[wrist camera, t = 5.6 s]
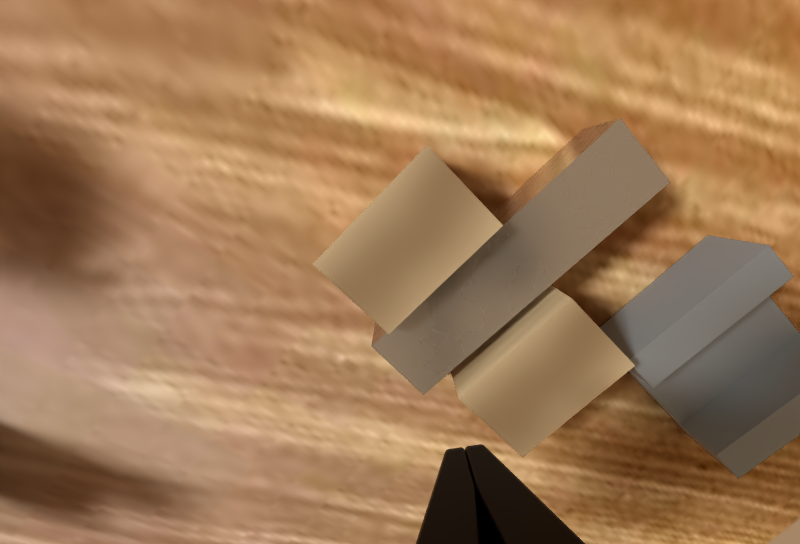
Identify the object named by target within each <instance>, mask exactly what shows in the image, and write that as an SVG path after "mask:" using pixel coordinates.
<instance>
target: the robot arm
mask: <svg viewBox="0 0 800 544" xmlns="http://www.w3.org/2000/svg"><path fill="white" fill-rule="evenodd" d="M416 544H585V543H584V542H583V541H582V540H581V539H580V538H579V537H578V536H577V535H576V534H575V533H574V532H573V531H572V530H571V529H570V528H568V527H567V526H566V525H565V524H564V523H563V522H562V521H561V520H560V519H559V518H558V517H557V516H556V515H555V514H554V513H553V512H552V511H551V510H550V509H549V508H548V507H547V506H546V505H545V504H544V503H543V502H542V501H541V500H540V499H539V498H538V497H537V496H536V495H535V494H533V493H532V492H531V491H530V490H529V489H528V488H527V487H526V486H525V485H524V484H523V483H522V482H521V481H520V480H519V479H518V478H517V477H516V476H515V475H514V474H513V473H512V472H511V471H510V470H509V469H508V468H507V467H506V466H505V465H504V464H503V463H502V462H501V461H499V460H498V459H497V458H496V457H495V456H494V455H493V454H492V453H491V452H490V451H489V450H488V449H487V448H486V447H485V446H484V445H482V444H480V445H473V446H467V447H466V448H465V450H464V449H463V448H461V447H460V448H454V449H448V450H446V452H445V454H444V457H443V460H442V463H441V466H440V470H439V473H438V476H437V479H436V482H435V485H434V488H433V492H432V495H431V498H430V501H429V504H428V507H427V510H426V513H425V517H424V520H423V523H422V526H421V529H420V532H419V535H418V539H417V542H416Z"/></svg>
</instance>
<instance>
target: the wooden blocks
mask: <svg viewBox="0 0 800 544" xmlns="http://www.w3.org/2000/svg"><path fill="white" fill-rule="evenodd" d="M502 226H503V225H502V224H501V223H500V222H499V221H498V219H497V218H496V217H495V216H494V215H493V214H492V213H491V212H490V211H489V210H488V209H487V208H486V207H485V206H484V205H483V204H482V203H481V201H480V200H479V199H478V198H477V197H476V196H475V195H474V194H473V193H472V192H471V191H470V190H469V189H468V188H467V187H466V186H465V184H464V183H463V182H462V181H461V180H460V179H459V178H458V177H457V176H456V175H455V174H454V173H453V172H452V171H451V170H450V169H449V167H448V166H447V165H446V164H445V163H444V162H443V161H442V160H441V159H440V158H439V157H438V156H437V155H436V154H435V153H434V152H433V151H432V149H431V148H430V147H429V146H428V145H427V146H426V147H425V148H424V149H423V150H422V151H421V152H420V153H419V154H418V155H417V156H416V157H415V158H414V159H413V160H412V161H411V162H410V163H409V164H408V165H407V166H406V167H405V168H404V170H403V171H402V172H401V173H400V174H399V175H398V176H397V177H396V178H395V179H394V180H393V181H392V182H391V183H390V184H389V185H388V186H387V187H386V188H385V189H384V190H383V191H382V192H381V193H380V195H379V196H378V197H377V198H376V199H375V200H374V201H373V202H372V203H371V204H370V205H369V206H368V207H367V208H366V209H365V210H364V211H363V212H362V213H361V214H360V215H359V216H358V217H357V218H356V220H355V221H354V222H353V223H352V224H351V225H350V226H349V227H348V228H347V229H346V230H345V231H344V232H343V233H342V234H341V235H340V236H339V237H338V238H337V239H336V240H335V241H334V242H333V244H332V245H331V246H330V247H329V248H328V249H327V250H326V251H325V252H324V253H323V254H322V255H321V256H320V257H319V258H318V259H317V260H316V261H315V262H314V263H313V265H314V266H315V267H316V268H317V269H318V270H320V271H321V272H322V273H323V274H324V275H325V276H326V277H327V278H328V279H329V280H330V281H331V282H333V283H334V284H335V285H336V286H337V287H338V288H339V289H340V290H341V291H342V292H343V293H345V294H346V295H347V296H348V297H349V298H350V299H351V300H352V301H353V302H354V303H355V304H356V305H358V306H359V307H360V308H361V309H362V310H363V311H364V312H365V313H366V314H367V315H368V316H370V317H371V318H372V319H373V320H374V321H375V322H376V323H377V324H378V325H379V326H380V327H382V328H383V329H384V330H385V331H386V332H387V333H388V334H390V333H391V332H392V331H393V330H394V329H395V328H396V327H397V326H398V325H399V324H400V323H401V322H402V321H403V320H404V319H406V318H407V317H408V316H409V315H410V314H411V313H412V312H413V311H414V310H415V309H416V308H417V307H418V306H419V305H420V304H421V303H422V302H423V301H424V300H425V299H427V298H428V297H429V296H430V295H431V294H432V293H433V292H434V291H435V290H436V289H437V288H438V287H439V286H440V285H441V284H442V283H443V282H444V281H445V280H446V279H448V278H449V277H450V276H451V275H452V274H453V273H454V272H455V271H456V270H457V269H458V268H459V267H460V266H461V265H462V264H463V263H464V262H465V261H466V260H467V259H469V258H470V257H471V256H472V255H473V254H474V253H475V252H476V251H477V250H478V249H479V248H480V247H481V246H482V245H483V244H484V243H485V242H486V241H487V240H488V239H490V238H491V237H492V236H493V235H494V234H495V233H496V232H497V231H498V230H499V229H500V228H501V227H502ZM634 366H635V365H634V364H633V363H632V362H631V361H630V360H629V359H628V357H627V356H626V355H625V354H624V353H623V352H622V351H621V350H620V349H619V348H618V347H617V346H616V345H615V344H614V343H613V342H612V340H611V339H610V338H609V337H608V336H607V335H606V334H605V333H604V332H603V331H602V330H601V329H600V328H599V327H598V326H597V325H596V323H595V322H594V321H593V320H592V319H591V318H590V317H589V316H588V315H587V314H586V313H585V312H584V311H583V310H582V309H581V308H580V307H579V305H578V304H577V303H576V302H575V301H574V300H573V299H572V298H570V297H569V296H567V295H566V294H564V293H563V292H561V291H560V290H558V289H556V288H555V287H553V286H552V285H550V286H549V287H548V288H547V289H546V290H544V291H543V292H542V293H541V294H540V295H539V296H538V297H536V298H535V299H534V300H533V301H532V302H531V303H529V304H528V305H527V306H526V307H525V308H524V309H522V310H521V311H520V312H519V313H518V314H517V315H515V316H514V317H513V318H512V319H511V320H510V321H509V322H507V323H506V324H505V325H504V326H503V327H502V328H500V329H499V330H498V331H497V332H496V333H495V334H493V335H492V336H491V337H490V338H489V339H488V340H486V341H485V342H484V343H483V344H482V345H481V346H480V347H478V348H477V349H476V350H475V351H474V352H473V353H471V354H470V355H469V356H468V357H467V358H466V359H464V360H463V361H462V362H461V363H460V364H459V365H458V366H456V367H455V368H454V369H453V370H452V371H451V374H452V377H453V381H454V384H455V388H456V391H457V394H458V398H459V399H460V400H461V401H462V402H463V403H464V404H465V405H466V406H467V407H469V408H470V409H471V410H472V411H473V412H474V413H475V414H476V415H477V416H478V417H479V418H480V419H482V420H483V421H484V422H485V423H486V424H487V425H488V426H489V427H490V428H491V429H492V430H494V431H495V432H496V433H497V434H498V435H499V436H500V437H501V438H502V439H503V440H504V441H505V442H507V443H508V444H509V445H510V446H511V447H512V448H513V449H514V450H515V451H516V452H517V453H519V454H520V455H521V456H522V457H523V456H525V455H526V454H527V453H528V452H530V451H531V450H532V449H533V448H535V447H536V446H537V445H538V444H539V443H541V442H542V441H543V440H544V439H546V438H547V437H548V436H549V435H551V434H552V433H553V432H554V431H555V430H557V429H558V428H559V427H560V426H562V425H563V424H564V423H565V422H566V421H568V420H569V419H570V418H571V417H573V416H574V415H575V414H576V413H578V412H579V411H580V410H581V409H582V408H584V407H585V406H586V405H587V404H589V403H590V402H591V401H592V400H594V399H595V398H596V397H597V396H598V395H600V394H601V393H602V392H603V391H605V390H606V389H607V388H608V387H610V386H611V385H612V384H613V383H614V382H616V381H617V380H618V379H619V378H621V377H622V376H623V375H624V374H625V373H627V372H628V371H629V370H630V369H632V368H633V367H634Z"/></svg>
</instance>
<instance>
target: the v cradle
mask: <svg viewBox="0 0 800 544" xmlns="http://www.w3.org/2000/svg"><path fill="white" fill-rule="evenodd" d="M792 277H794V276H793V275H792V274H791V272H790V271H789V270H788V268H787V267H786V266H785V265H784V263H783V262H782V261H781V260H780V258H779V257H778V256H777V254H776V253H775V252H774V251H773V249H772V248H771V247H770V246H769V245H764V244H758V243H752V242H746V241H740V240H733V239H727V238H721V237H715V236H709V235H708V236H707V237H705V238H704V239H703V240H702V241H701V242H699V243H698V244H697V245H696V246H695V247H694V248H692V249H691V250H690V251H689V252H688V253H687V254H685V255H684V256H683V257H682V258H681V259H679V260H678V261H677V262H676V263H675V264H674V265H672V266H671V267H670V268H669V269H668V270H667V271H665V272H664V273H663V274H662V275H661V276H659V277H658V278H657V279H656V280H655V281H654V282H652V283H651V284H650V285H649V286H648V287H647V288H645V289H644V290H643V291H642V292H641V293H639V294H638V295H637V296H636V297H635V298H634V299H632V300H631V301H630V302H629V303H628V304H626V305H625V306H624V307H623V308H622V309H621V310H619V311H618V312H617V313H616V314H615V315H614V316H612V317H611V318H610V319H609V320H608V321H606V322H605V323H604V324H603V325H602V326H601V327H599V328H600V329H601V330H602V331H603V332H604V333H605V334H606V335H607V336H608V337H609V338H610V339H611V340H612V342H613V343H614V344H615V345H616V346H617V347H618V348H619V349H620V350H621V351H622V352H623V353H624V354H625V355H626V356H627V357H628V359H629V360H630V361H631V362H632V363H633V364H634V365H635V366H634V367H633V368H632V369H630V370H629V371H628V372H629V373H630V374H631V375H632V376H633V378H634V379H635V380H636V381H637V382H638V383H639V384H640V385H641V386H642V387H643V388H644V389H645V390H646V391H647V392H648V393H649V394H650V395H651V396H652V398H653V399H654V400H655V401H656V402H657V403H658V404H659V405H660V406H661V407H662V408H663V409H664V410H665V411H666V412H667V413H668V414H669V415H670V416H671V418H672V419H673V420H674V421H675V422H676V423H677V424H678V425H679V426H680V427H681V428H682V429H683V430H684V431H685V432H686V433H687V434H688V435H689V436H690V437H691V438H692V439H693V440H694V441H695V442H697V443H698V444H699V445H700V446H701V447H702V448H704V449H705V450H706V451H707V452H708V453H709V454H711V455H712V456H713V457H714V458H715V459H716V460H718V461H719V462H720V463H721V464H722V465H723V466H725V467H726V468H727V469H728V470H729V471H730V472H731V473H733V474H734V475H735V476H736V477H737V478H738V479H739V478H740V477H742V476H743V475H744V474H746V473H747V472H749V471H750V470H751V469H753V468H754V467H756V466H757V465H758V464H760V463H761V462H763V461H764V460H765V459H767V458H768V457H770V456H771V455H772V454H774V453H775V452H777V451H778V450H779V449H781V448H782V447H784V446H785V445H786V444H788V443H789V442H791V441H792V440H793V439H795V438H796V437H798V436H799V435H800V333H799V332H798V330H797V329H796V328H795V327H794V326H793V324H792V323H791V322H790V321H789V319H788V318H787V317H786V316H785V314H784V313H783V312H782V311H781V310H780V308H779V307H778V306H777V305H776V303H775V302H774V301H773V300H772V298H771V297H770V295H771V294H772V293H774V292H775V291H776V290H777V289H779V288H780V287H781V286H782V285H784V284H785V283H786V282H787V281H789V280H790V279H791V278H792Z"/></svg>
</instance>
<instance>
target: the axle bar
mask: <svg viewBox="0 0 800 544" xmlns="http://www.w3.org/2000/svg"><path fill="white" fill-rule="evenodd" d="M669 183H670V181H669V180H668V179H667V177H666V176H665V175H664V173H663V172H662V171H661V170H660V168H659V167H658V166H657V164H656V163H655V162H654V161H653V159H652V158H651V157H650V155H649V154H648V153H647V152H646V150H645V149H644V148H643V146H642V145H641V144H640V143H639V141H638V140H637V139H636V137H635V136H634V135H633V134H632V132H631V131H630V130H629V128H628V127H627V126H626V125H625V123H624V122H623V121H622V119H621V118H619V119H615V120H612V121H609V122H606V123H602V124H599V125H596V126H592V127H589V128H586V129H582V130H581V131H580V132H579V133H578V134H577V135H576V136H575V137H574V138H573V139H572V140H570V141H569V142H568V143H567V144H566V145H565V146H564V147H563V148H562V149H561V150H560V151H559V152H558V153H557V154H555V155H554V156H553V157H552V158H551V159H550V160H549V161H548V162H547V163H546V164H545V165H544V166H543V167H541V168H540V169H539V170H538V171H537V172H536V173H535V174H534V175H533V176H532V177H531V178H530V179H529V180H527V181H526V182H525V183H524V184H523V185H522V186H521V187H520V188H519V189H518V190H517V191H516V192H515V193H513V194H512V195H511V196H510V197H509V198H508V199H507V200H506V201H505V202H504V203H503V204H502V205H501V206H499V207H498V208H497V209H496V210H495V211H494V212H493V213H492V214H493V215H494V216H495V217H496V218H497V219H498V221H499V222H500V223H501V224H502V225H503V226H502V227H501V228H500V229H499V230H498V231H497V232H496V233H495V234H494V235H493V236H492V237H491V238H490V239H488V240H487V241H486V242H485V243H484V244H483V245H482V246H481V247H480V248H479V249H478V250H477V251H476V252H475V253H474V254H473V255H472V256H471V257H470V258H469V259H467V260H466V261H465V262H464V263H463V264H462V265H461V266H460V267H459V268H458V269H457V270H456V271H455V272H454V273H453V274H452V275H451V276H450V277H449V278H448V279H446V280H445V281H444V282H443V283H442V284H441V285H440V286H439V287H438V288H437V289H436V290H435V291H434V292H433V293H432V294H431V295H430V296H429V297H428V298H427V299H425V300H424V301H423V302H422V303H421V304H420V305H419V306H418V307H417V308H416V309H415V310H414V311H413V312H412V313H411V314H410V315H409V316H408V317H407V318H406V319H404V320H403V321H402V322H401V323H400V324H399V325H398V326H397V327H396V328H395V329H394V330H393V331H392V332H391V333H390V334H388V333H387V332H386V331H385V330H384V329H383V328H382V327H380V326H379V325H378V324H377V323H376V322H375V328H374V334H373V340H372V347H373V348H374V349H375V350H376V351H377V352H378V353H379V354H380V355H381V356H382V357H384V358H385V359H386V360H387V361H388V362H389V363H390V364H391V365H392V366H393V367H394V368H395V369H396V370H397V371H398V372H399V373H401V374H402V375H403V376H404V377H405V378H406V379H407V380H408V381H409V382H410V383H411V384H412V385H413V386H414V387H415V388H417V389H418V390H419V391H420V392H421V393H422V394H423V395H424V394H425V393H426V392H427V391H429V390H430V389H431V388H432V387H433V386H434V385H435V384H437V383H438V382H439V381H440V380H441V379H442V378H444V377H445V376H446V375H447V374H448V373H449V372H451V371H452V370H453V369H454V368H455V367H456V366H458V365H459V364H460V363H461V362H462V361H463V360H464V359H466V358H467V357H468V356H469V355H470V354H471V353H473V352H474V351H475V350H476V349H477V348H478V347H480V346H481V345H482V344H483V343H484V342H485V341H486V340H488V339H489V338H490V337H491V336H492V335H493V334H495V333H496V332H497V331H498V330H499V329H500V328H502V327H503V326H504V325H505V324H506V323H507V322H509V321H510V320H511V319H512V318H513V317H514V316H515V315H517V314H518V313H519V312H520V311H521V310H522V309H524V308H525V307H526V306H527V305H528V304H529V303H531V302H532V301H533V300H534V299H535V298H536V297H538V296H539V295H540V294H541V293H542V292H543V291H544V290H546V289H547V288H548V287H549V286H550V285H551V284H553V283H554V282H555V281H556V280H557V279H558V278H560V277H561V276H562V275H563V274H564V273H565V272H567V271H568V270H569V269H570V268H571V267H572V266H573V265H575V264H576V263H577V262H578V261H579V260H580V259H582V258H583V257H584V256H585V255H586V254H587V253H589V252H590V251H591V250H592V249H593V248H594V247H596V246H597V245H598V244H599V243H600V242H601V241H602V240H604V239H605V238H606V237H607V236H608V235H609V234H611V233H612V232H613V231H614V230H615V229H616V228H618V227H619V226H620V225H621V224H622V223H623V222H624V221H626V220H627V219H628V218H629V217H630V216H631V215H633V214H634V213H635V212H636V211H637V210H638V209H640V208H641V207H642V206H643V205H644V204H645V203H647V202H648V201H649V200H650V199H651V198H652V197H653V196H655V195H656V194H657V193H658V192H659V191H660V190H662V189H663V188H664V187H665V186H666V185H667V184H669Z"/></svg>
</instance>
